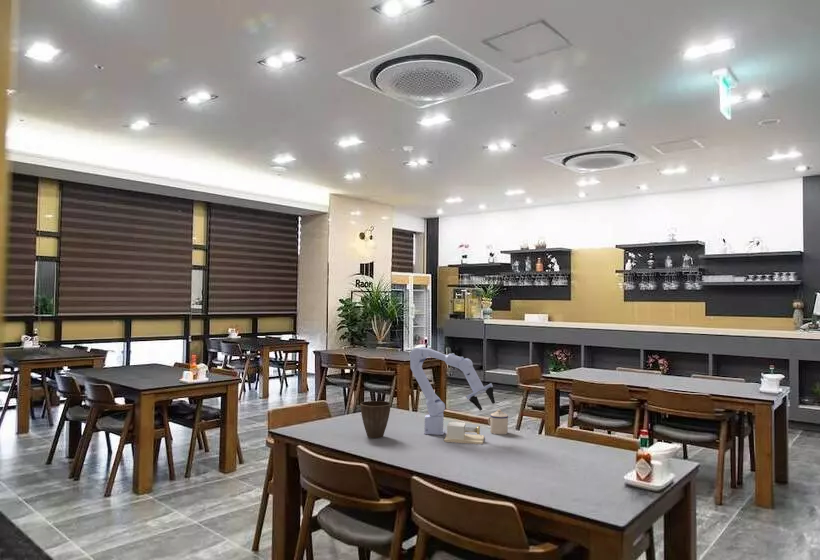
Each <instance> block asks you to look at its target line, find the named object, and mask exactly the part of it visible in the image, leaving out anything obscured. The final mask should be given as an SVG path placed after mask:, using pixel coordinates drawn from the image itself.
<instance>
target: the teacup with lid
mask: <svg viewBox="0 0 820 560" xmlns="http://www.w3.org/2000/svg"><path fill="white" fill-rule="evenodd" d="M508 419H509V415H508V414H507V413H505V412H503V411H502V409H497V410H496V411H495V412H491V413H490V415H489V416H488V418H487V422H488V425H489V426H490V433H491V434H493V435H498V436H499V435H500V436H501V435H502V436H503V435H507V434H508V433H509V432H508V431H509V430H508V429H509V428H508V424H509V423H508V422H509V420H508Z"/></svg>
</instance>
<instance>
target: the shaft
mask: <svg viewBox="0 0 820 560" xmlns="http://www.w3.org/2000/svg"><path fill="white" fill-rule="evenodd" d="M464 432H465V433H472V434H473V433H474V434H476V435H481V433H480V432H481V427H480V426H479V425H478V426H476V427H474V426H473V427H471V426H469V427H468V426H465V427H464Z"/></svg>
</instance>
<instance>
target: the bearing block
mask: <svg viewBox="0 0 820 560" xmlns="http://www.w3.org/2000/svg"><path fill="white" fill-rule="evenodd" d="M464 427H466V422H460V421H459V422H456V421H449V422H448V424H447V425H446V435H445V438H444V439H443V442H444V443H453V442H455V443H457V444H458V443H459V444H472V445H473V444H474V445H483V444H484V439H485V435H483V434H480V435H479V434H469V433H467V434H466V432H464Z"/></svg>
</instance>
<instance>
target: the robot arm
mask: <svg viewBox="0 0 820 560" xmlns="http://www.w3.org/2000/svg"><path fill="white" fill-rule="evenodd" d="M408 355H409V357H408V358H409V362H410V363H409V364H410V365H409V366H410V367H409V368H410V370H411V372H412V374H413V376H414V377H415V378H414V379H415V380H416V382H417V384H418V385H419V387H420V390H421V391H422V394H423V395H424V398H425V399H426V401H425V404H426V406H427V413H428V414H425V416H424V431H423V432H424V434H425V435H438V436H440V435H441V436H443V435H444V434H445V432H446V431H445V430H444V417H445V416H444V415H445V414H444V412H445V410H446V403H444V401H442V400H441V398H440V397H439V396H438V395H437V394H436V392H435V391H434V389H433V387H432V384H431V383H430V381H429V378H428V377H427V375H426V373H425V370H424V369H423V364H424V361H426V359H427V358H433V359H437V360H441V361H444V363H445V365H447V366H451V367H453V368H456V369H459V370H460V371H461V372H462V373H463V375H464V377H465V380H466V381H467V382H468V384H469V387H470V388H471V390H472V392H471V393H469V394H467V395H466V396H465V398H466V399H467V400H469V401H468V402H471V403H472V404H473V405H474V406H475V407H476V408H477V409H478V411H479V412H480V411H482V410H483V408H482V405H481V403H480V401H479V399H478V396H479V395H480V394H482V393H484V392H485V394H486V395H487V397H488V399H489V400H490V402H491V404H492V405H494V404H495V403H496V401H495V397H494V388H493V387H494V386H493V383H492V382H490V383H489V384H487V385H483V382H482V380H481V379H480V377H479V375H478V373H477V371H476V369H475V368H474V364H473V361H472V360H471V359H470V358H469V357H466V358H464V356H458V355H456V354H455V353H453V352H452V353H448V354H445V353H442V352H440V351H438V350H435V349H432V348H429V347H425V346H421V347H414V348H412V349H411V350H410V353H409V354H408Z"/></svg>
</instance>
